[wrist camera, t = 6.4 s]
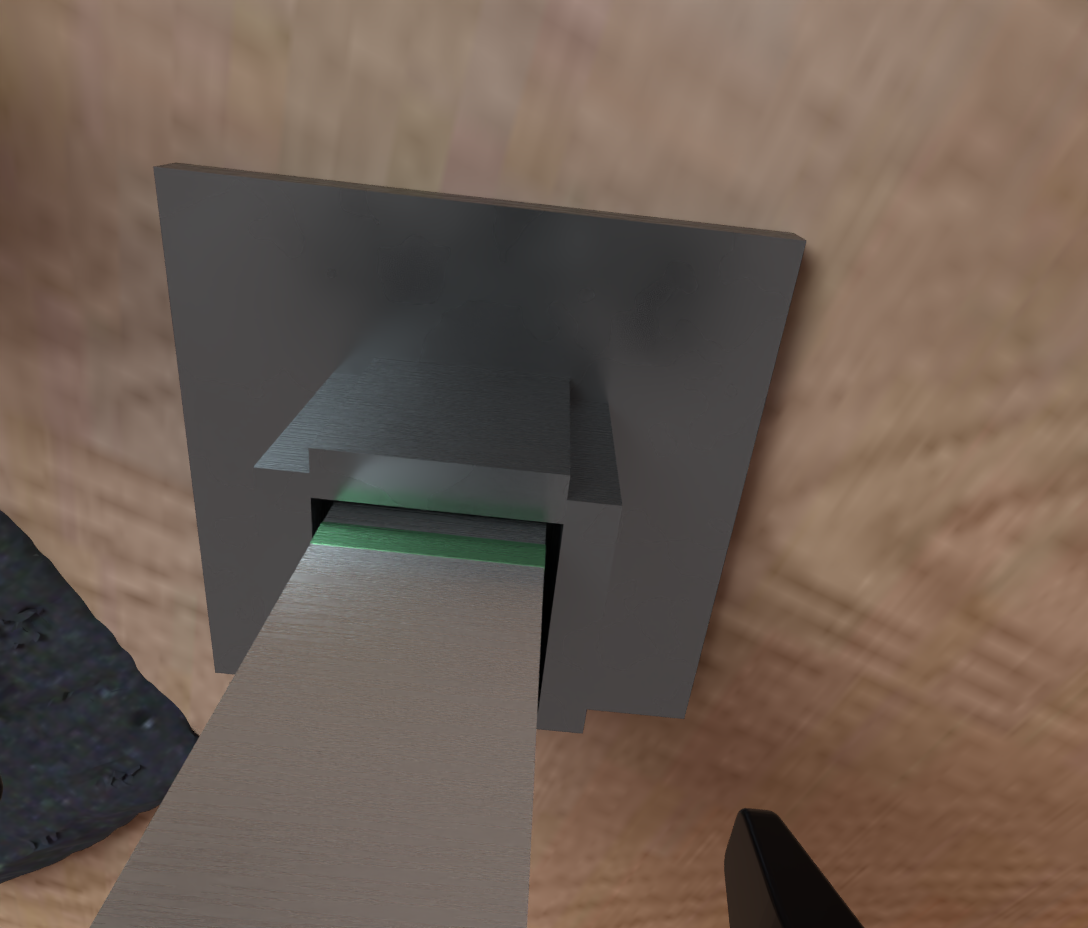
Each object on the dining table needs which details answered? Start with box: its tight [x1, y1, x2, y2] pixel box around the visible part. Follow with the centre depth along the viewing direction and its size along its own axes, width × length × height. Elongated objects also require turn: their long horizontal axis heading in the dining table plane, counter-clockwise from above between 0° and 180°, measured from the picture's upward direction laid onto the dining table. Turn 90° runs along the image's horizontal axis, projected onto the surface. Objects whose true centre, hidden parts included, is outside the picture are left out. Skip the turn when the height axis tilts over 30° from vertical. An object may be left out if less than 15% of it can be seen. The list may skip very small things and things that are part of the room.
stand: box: [153, 163, 806, 733], centre depth 17 cm, size 14×14×6 cm
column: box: [90, 502, 546, 928], centre depth 10 cm, size 4×4×10 cm
